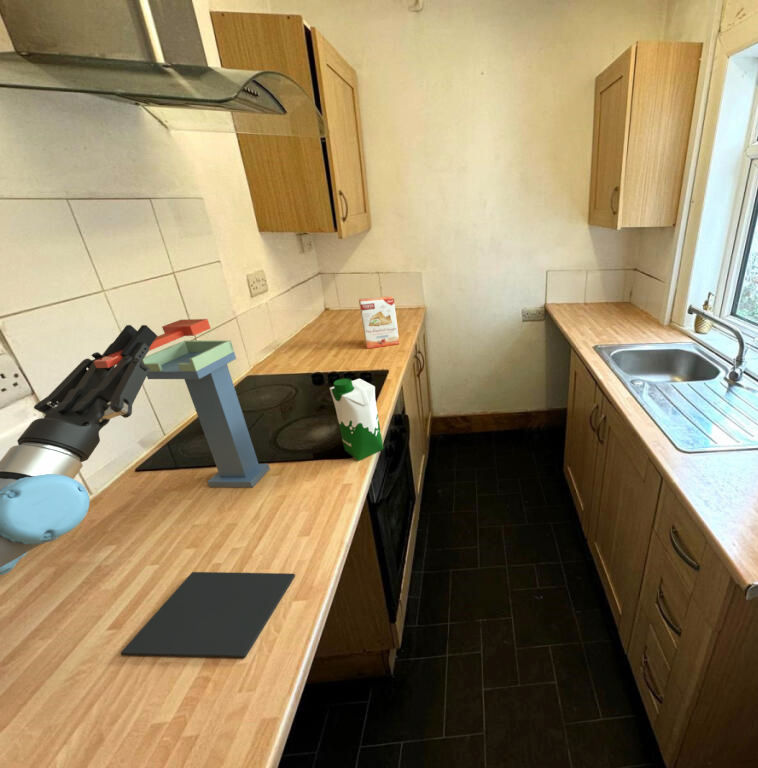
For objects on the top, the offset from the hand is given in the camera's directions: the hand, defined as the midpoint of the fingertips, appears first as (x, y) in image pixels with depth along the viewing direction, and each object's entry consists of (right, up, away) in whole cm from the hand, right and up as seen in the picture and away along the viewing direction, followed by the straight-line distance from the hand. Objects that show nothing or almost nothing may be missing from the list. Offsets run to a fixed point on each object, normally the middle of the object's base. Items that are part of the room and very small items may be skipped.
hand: (142, 330), depth 72 cm
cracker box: (+7, +8, +112) cm, 113 cm away
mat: (+18, -45, -7) cm, 49 cm away
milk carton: (+26, -26, +35) cm, 51 cm away
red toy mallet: (0, -2, +3) cm, 4 cm away
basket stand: (+1, -32, +23) cm, 40 cm away
